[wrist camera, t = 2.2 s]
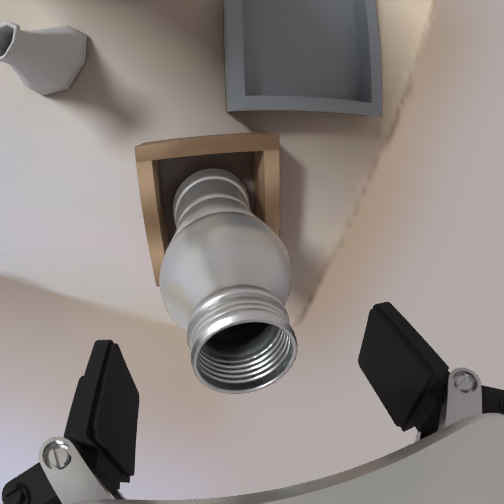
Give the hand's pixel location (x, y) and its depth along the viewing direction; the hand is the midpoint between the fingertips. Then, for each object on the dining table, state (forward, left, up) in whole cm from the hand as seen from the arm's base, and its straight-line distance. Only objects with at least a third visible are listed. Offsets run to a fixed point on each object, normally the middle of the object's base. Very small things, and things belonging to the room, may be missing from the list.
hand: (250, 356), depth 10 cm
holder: (0, 0, -19) cm, 19 cm away
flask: (-16, -14, -20) cm, 29 cm away
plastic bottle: (0, 0, -20) cm, 20 cm away
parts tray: (-17, +9, -19) cm, 28 cm away
